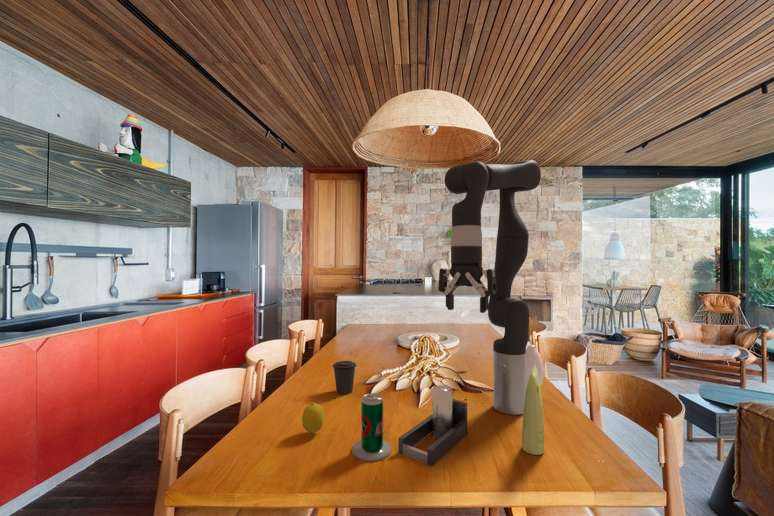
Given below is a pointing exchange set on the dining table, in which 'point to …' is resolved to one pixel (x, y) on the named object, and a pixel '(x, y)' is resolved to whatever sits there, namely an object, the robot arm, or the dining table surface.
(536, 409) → the tube
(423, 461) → the can rack
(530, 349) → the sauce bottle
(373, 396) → the soda can
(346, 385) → the coffee cup
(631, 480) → the dining table surface
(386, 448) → the grey disc
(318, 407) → the lemon
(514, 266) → the robot arm
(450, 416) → the grey metal cylinder
